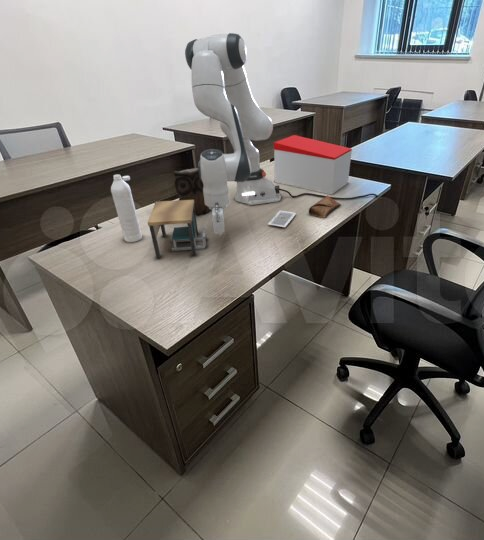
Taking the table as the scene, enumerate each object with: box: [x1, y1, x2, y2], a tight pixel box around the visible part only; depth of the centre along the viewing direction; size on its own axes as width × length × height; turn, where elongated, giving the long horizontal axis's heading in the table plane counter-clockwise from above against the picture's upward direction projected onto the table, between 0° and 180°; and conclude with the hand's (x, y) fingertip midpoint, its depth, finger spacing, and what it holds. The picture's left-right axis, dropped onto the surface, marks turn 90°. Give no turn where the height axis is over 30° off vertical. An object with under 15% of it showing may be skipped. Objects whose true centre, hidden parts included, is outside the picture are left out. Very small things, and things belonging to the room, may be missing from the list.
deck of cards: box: [267, 210, 297, 228], centre depth 146 cm, size 8×15×2 cm, turn 160°
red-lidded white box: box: [273, 134, 353, 195], centre depth 182 cm, size 21×35×21 cm, turn 57°
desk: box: [147, 199, 199, 260], centre depth 125 cm, size 14×18×14 cm
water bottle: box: [110, 173, 143, 243], centre depth 126 cm, size 9×6×25 cm
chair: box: [171, 212, 207, 252], centre depth 126 cm, size 12×8×12 cm, turn 99°
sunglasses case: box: [308, 194, 342, 218], centre depth 156 cm, size 18×7×7 cm
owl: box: [173, 167, 212, 217], centre depth 148 cm, size 13×13×20 cm
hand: (220, 233), depth 129 cm, fingers closed
